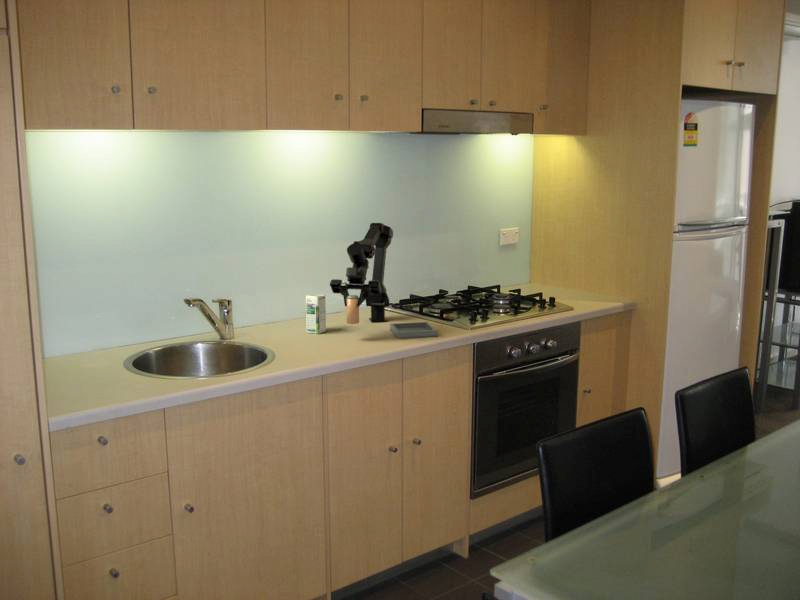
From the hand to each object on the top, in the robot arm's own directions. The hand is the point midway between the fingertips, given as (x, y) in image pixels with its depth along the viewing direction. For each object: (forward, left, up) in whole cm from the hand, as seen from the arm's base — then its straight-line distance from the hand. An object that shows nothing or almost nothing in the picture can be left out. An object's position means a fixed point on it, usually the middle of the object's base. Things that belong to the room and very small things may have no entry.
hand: (351, 305), depth 291 cm
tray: (-6, +25, -13) cm, 29 cm away
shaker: (-1, +1, -7) cm, 7 cm away
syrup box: (-17, -11, -13) cm, 25 cm away
